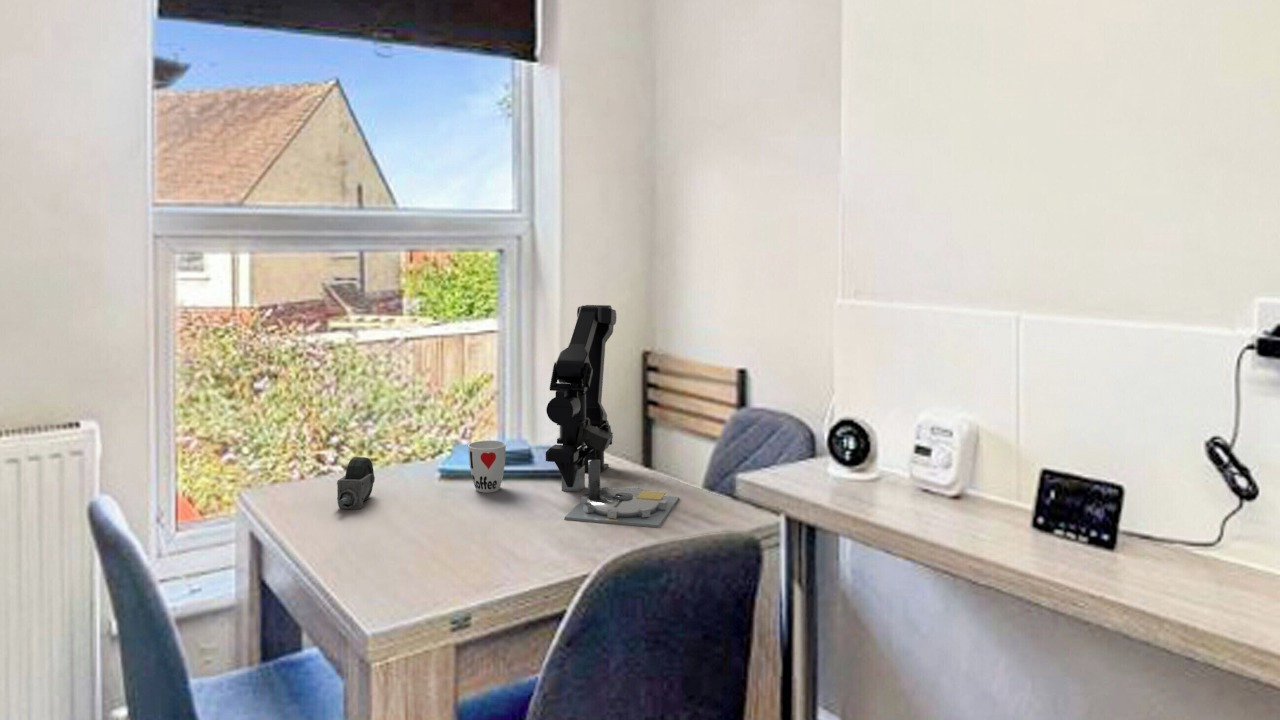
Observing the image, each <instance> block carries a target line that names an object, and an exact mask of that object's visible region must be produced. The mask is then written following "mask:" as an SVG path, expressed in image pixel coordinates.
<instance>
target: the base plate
mask: <svg viewBox="0 0 1280 720" xmlns="http://www.w3.org/2000/svg"><path fill="white" fill-rule="evenodd" d="M663 500H667V508H666V509H665V510H663V509H658V510H657V511H655V512H653V513H650V516H648V517H640V516H632V517H617V519H615V518H608V516H606V515H601V514H598V513H595V512H590V513H587V512H585V511H583V504H585V503H581V501H580V502H579V503H578V504H577V505H576V506H574V508H573V509H571V510H570V511H569V512H568V513H567V514H566V515H564V520H566V521H574V522H575V521H577V522H588V523H600V524H613V525H624V526H635V527H646V528H647V527H648V528H656V529H657V528H658V529H659V528H660V527H661V525H662V524H663V523H664V521H665V520H666V519H667V517H668V516H669V514H670V512H672V510H673V508H674V507H675V506H676V504H677V503H678V501H679V500H680V496H674V495H673V496H671V495H664V496H663Z"/></svg>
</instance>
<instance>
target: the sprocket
mask: <svg viewBox="0 0 1280 720" xmlns="http://www.w3.org/2000/svg"><path fill="white" fill-rule="evenodd" d="M587 473H588V474H587V476H588V478H587V479H588V483H587V485H588V487H587V488H588V492H587V493H583V494H582V495H581V496H580V497H581V499H580V500H581V501H580V502H581V503H585V504H583V511H585V512H587V513H590V512H595V513H598V514H601V515H606V516H608V518H615V519H617V517H632V516H640V517H648V516H650V513H653V512H655V511H657V510H658V509H663V510H665V509H666V508H667V500H663V496H666V494H667V492H666V491H660V490H656V491H653V490H648V489H646V488H645V489H644V488H640V486H634V485H633V486H632V485H630V486H629V487H611V488H610V487H607V486H603V487H601V472H600V459H589V460H588V472H587Z"/></svg>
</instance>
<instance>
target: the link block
mask: <svg viewBox="0 0 1280 720" xmlns="http://www.w3.org/2000/svg"><path fill="white" fill-rule="evenodd" d="M585 472H586V471H585V465H576V468H575V476H574V482H573V487H567V485H566V483H565V481H564V479H563V477H562V476H561V491H562V492H570V493H571V492H572V493H580V492H581V491H582V490H583V489H585V488H586V475H585V474H586V473H585Z"/></svg>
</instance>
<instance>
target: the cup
mask: <svg viewBox="0 0 1280 720" xmlns="http://www.w3.org/2000/svg"><path fill="white" fill-rule="evenodd" d="M506 446H507V443H506V442H504V441H499V440H477V441H473V442H470V443H469V444H467V451H468V460H469V461H468V462H469V468H470V469H469V470H470V475H471V478H472V482H473V485H474V488H475V491H476V492H479V493H494V492H495V493H496V492H497V491H499V490H500V488H501V485H502V482H503V477H504V473H505V472H504V471H505V466H506V465H505V464H506V449H507V448H506Z"/></svg>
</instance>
